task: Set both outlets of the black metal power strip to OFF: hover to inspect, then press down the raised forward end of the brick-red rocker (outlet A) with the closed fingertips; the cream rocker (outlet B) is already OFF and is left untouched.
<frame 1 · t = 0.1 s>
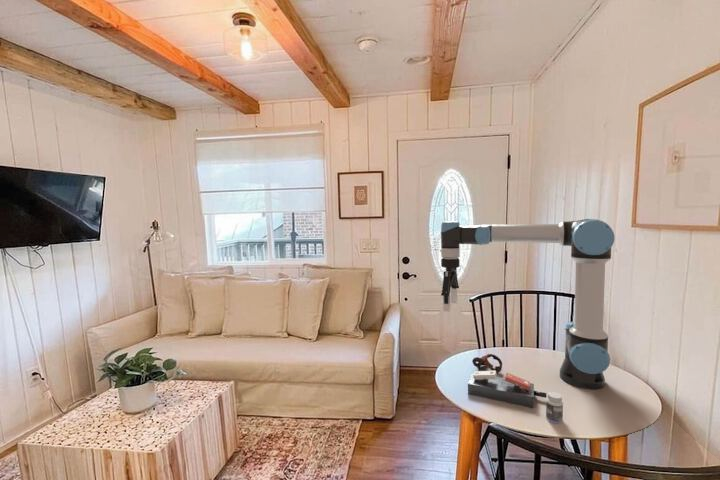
hand: (450, 307, 143), 28 cm above the table, fingers open, 13 cm apart
rocker B: (484, 374, 127), point 6 cm above the table, hinge at 14.0°
pill bottle: (554, 419, 109), on the table
rocker A: (517, 381, 122), point 6 cm above the table, hinge at -14.0°
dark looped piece: (486, 371, 143), on the table
power strip: (500, 394, 125), on the table
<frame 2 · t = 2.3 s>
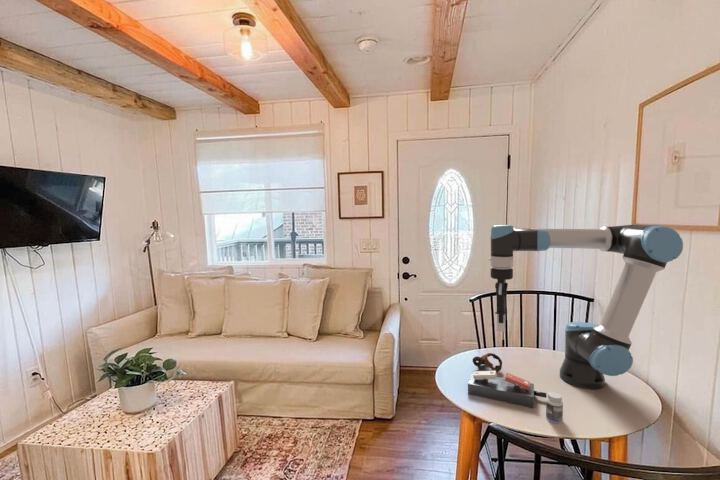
hand: (501, 330, 123), 24 cm above the table, fingers closed
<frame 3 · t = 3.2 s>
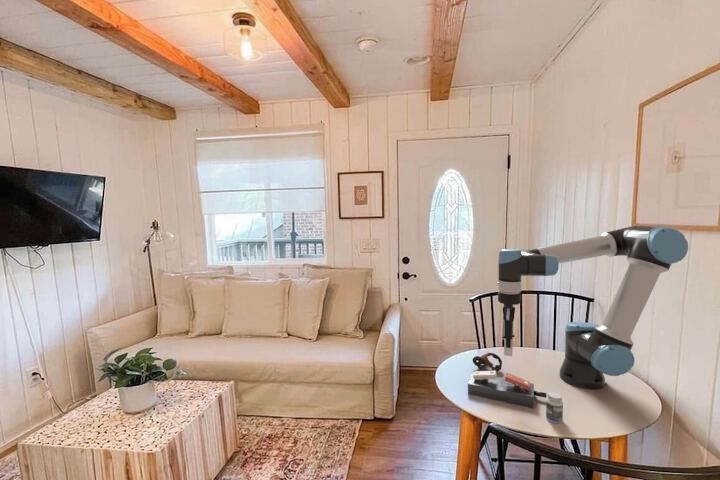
hand: (508, 354, 122), 16 cm above the table, fingers closed
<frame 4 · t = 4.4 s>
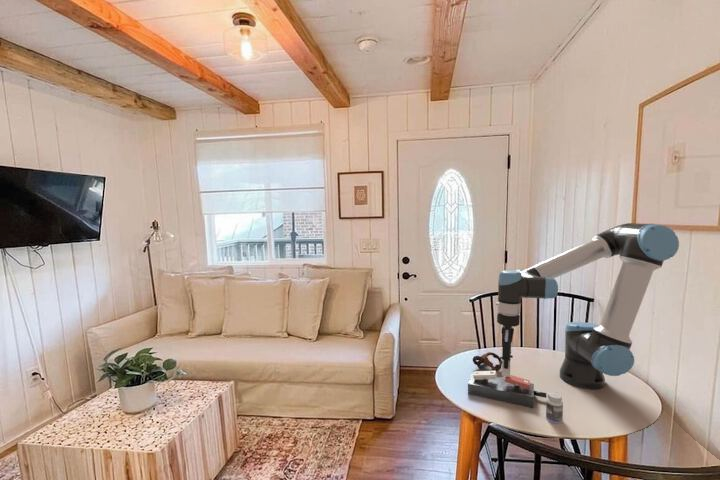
hand: (505, 375, 123), 8 cm above the table, fingers closed
rocker A: (517, 381, 122), point 6 cm above the table, hinge at -7.9°, touching gripper
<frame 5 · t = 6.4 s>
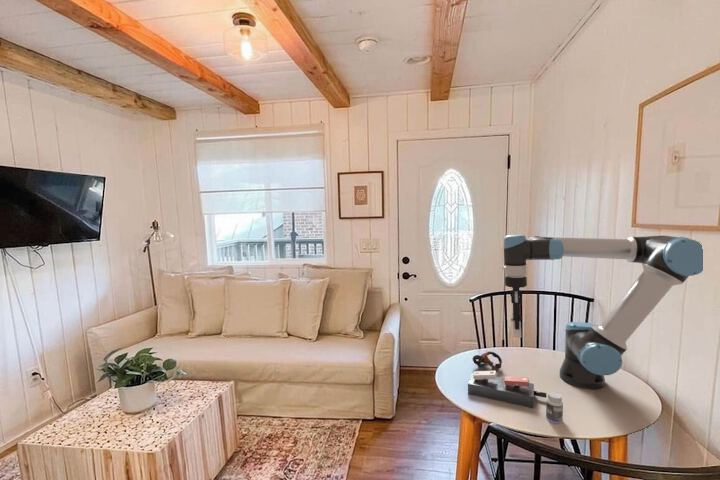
hand: (517, 336, 127), 20 cm above the table, fingers closed
rocker A: (516, 381, 122), point 6 cm above the table, hinge at 8.9°
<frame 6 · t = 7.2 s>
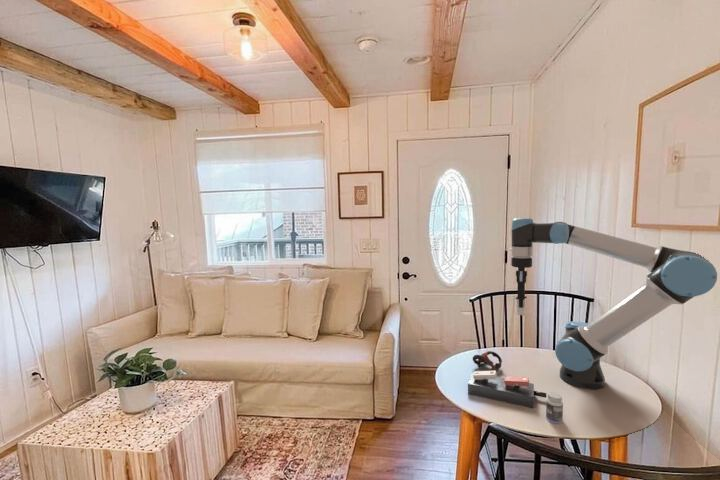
hand: (520, 314, 135), 26 cm above the table, fingers closed
rocker A: (516, 381, 122), point 6 cm above the table, hinge at 9.6°
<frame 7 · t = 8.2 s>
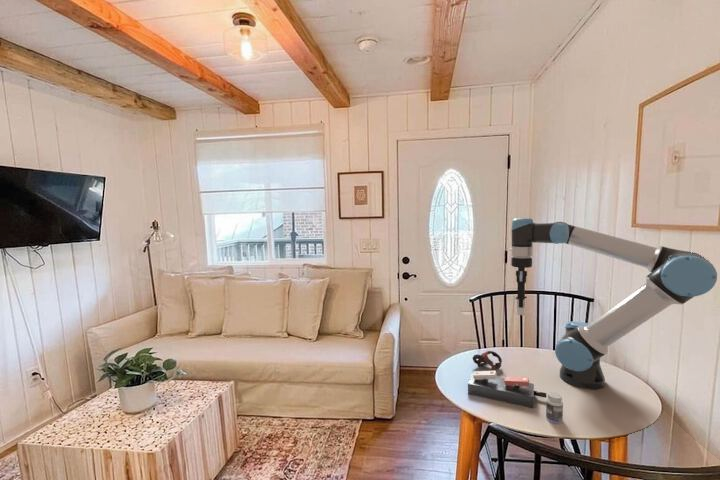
hand: (520, 314, 135), 26 cm above the table, fingers closed
rocker A: (516, 381, 122), point 6 cm above the table, hinge at 9.9°
at the end: rocker A at +10° (first picture: -14°); rocker B at +14° (first picture: +14°) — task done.
